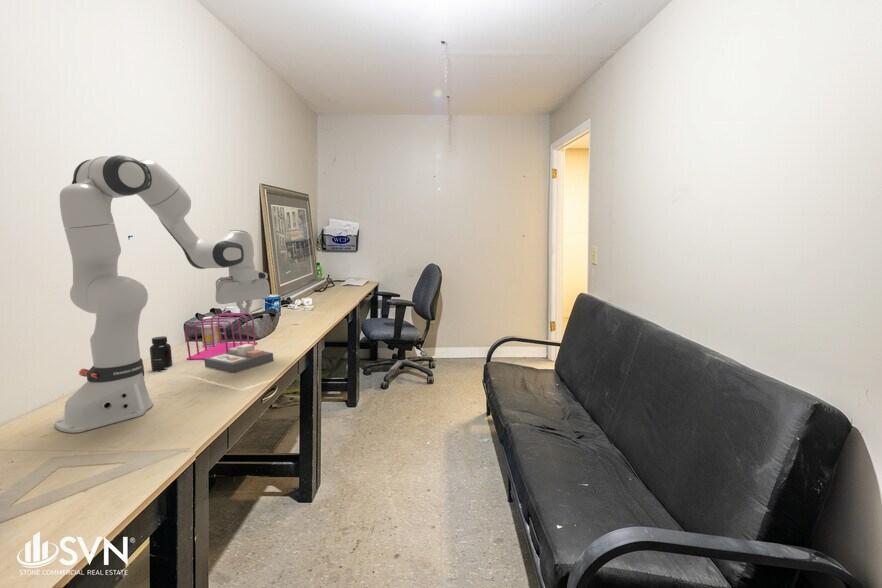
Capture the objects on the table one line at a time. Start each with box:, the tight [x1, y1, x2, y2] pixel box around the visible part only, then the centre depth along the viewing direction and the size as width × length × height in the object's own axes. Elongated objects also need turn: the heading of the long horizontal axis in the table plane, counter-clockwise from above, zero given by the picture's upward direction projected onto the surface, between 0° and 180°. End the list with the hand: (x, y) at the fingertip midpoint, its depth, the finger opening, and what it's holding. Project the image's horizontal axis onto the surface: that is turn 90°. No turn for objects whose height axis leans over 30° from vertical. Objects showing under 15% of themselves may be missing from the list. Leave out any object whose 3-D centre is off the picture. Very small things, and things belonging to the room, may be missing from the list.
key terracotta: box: [246, 349, 265, 358], centre depth 175 cm, size 4×4×4 cm
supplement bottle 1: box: [149, 335, 173, 372], centre depth 174 cm, size 7×7×12 cm
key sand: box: [237, 344, 255, 356], centre depth 177 cm, size 4×4×4 cm
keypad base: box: [203, 350, 274, 374], centre depth 175 cm, size 17×17×4 cm
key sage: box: [228, 347, 237, 354], centre depth 180 cm, size 4×4×4 cm
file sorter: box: [184, 312, 259, 361], centre depth 194 cm, size 17×25×16 cm
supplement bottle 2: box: [200, 316, 220, 348], centre depth 209 cm, size 7×7×13 cm
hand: (245, 313), depth 171 cm, fingers closed
